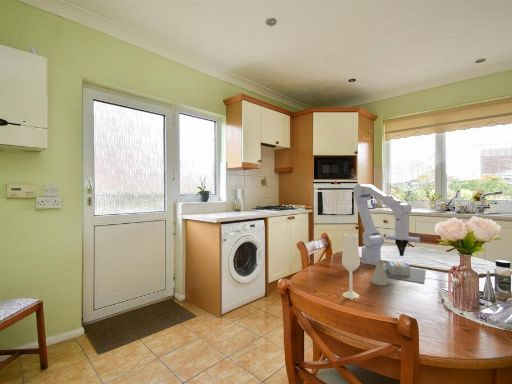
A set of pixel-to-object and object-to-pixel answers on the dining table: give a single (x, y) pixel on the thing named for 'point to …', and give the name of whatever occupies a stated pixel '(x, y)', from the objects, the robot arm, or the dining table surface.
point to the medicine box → (398, 268)
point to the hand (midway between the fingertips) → (401, 255)
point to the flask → (379, 274)
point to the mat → (415, 276)
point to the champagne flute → (350, 260)
